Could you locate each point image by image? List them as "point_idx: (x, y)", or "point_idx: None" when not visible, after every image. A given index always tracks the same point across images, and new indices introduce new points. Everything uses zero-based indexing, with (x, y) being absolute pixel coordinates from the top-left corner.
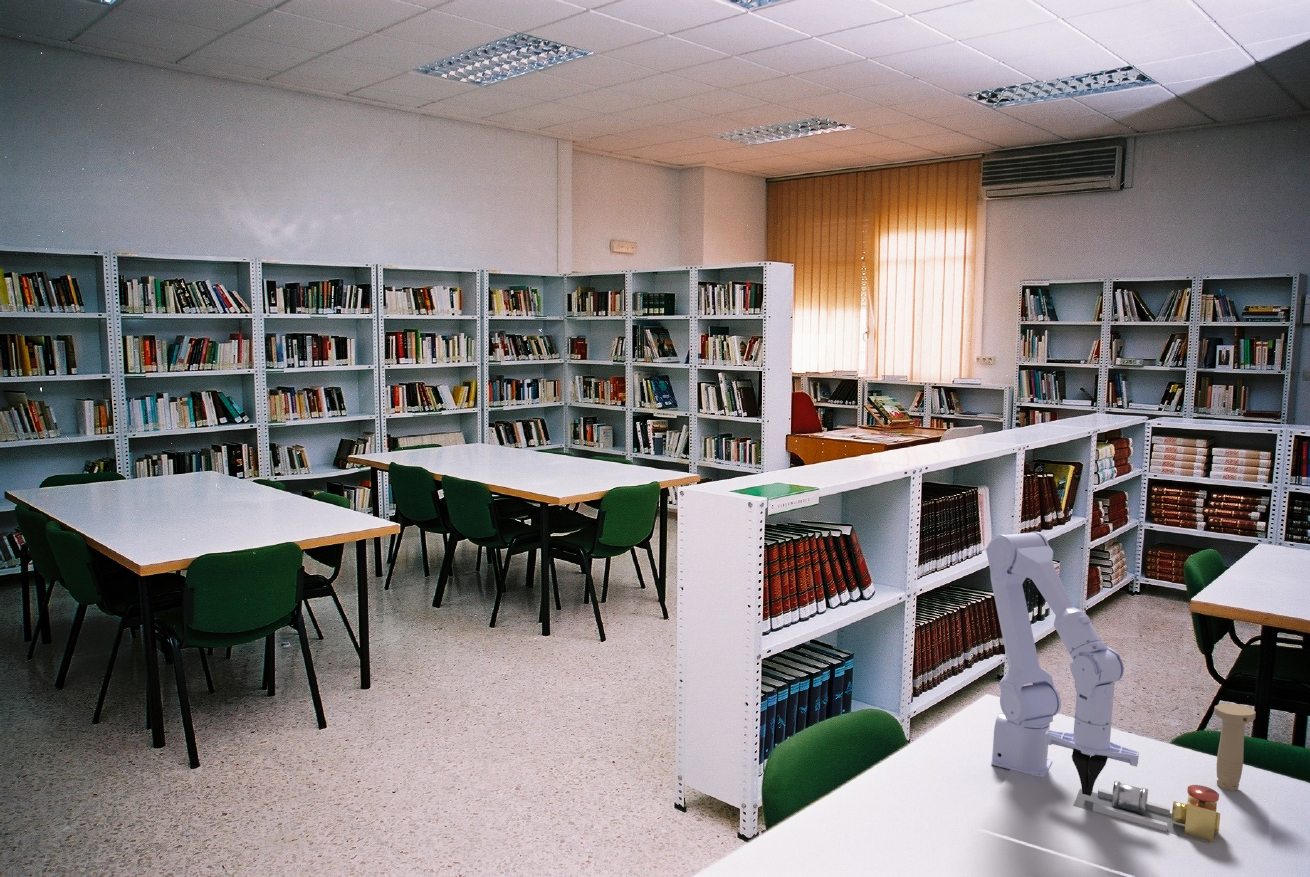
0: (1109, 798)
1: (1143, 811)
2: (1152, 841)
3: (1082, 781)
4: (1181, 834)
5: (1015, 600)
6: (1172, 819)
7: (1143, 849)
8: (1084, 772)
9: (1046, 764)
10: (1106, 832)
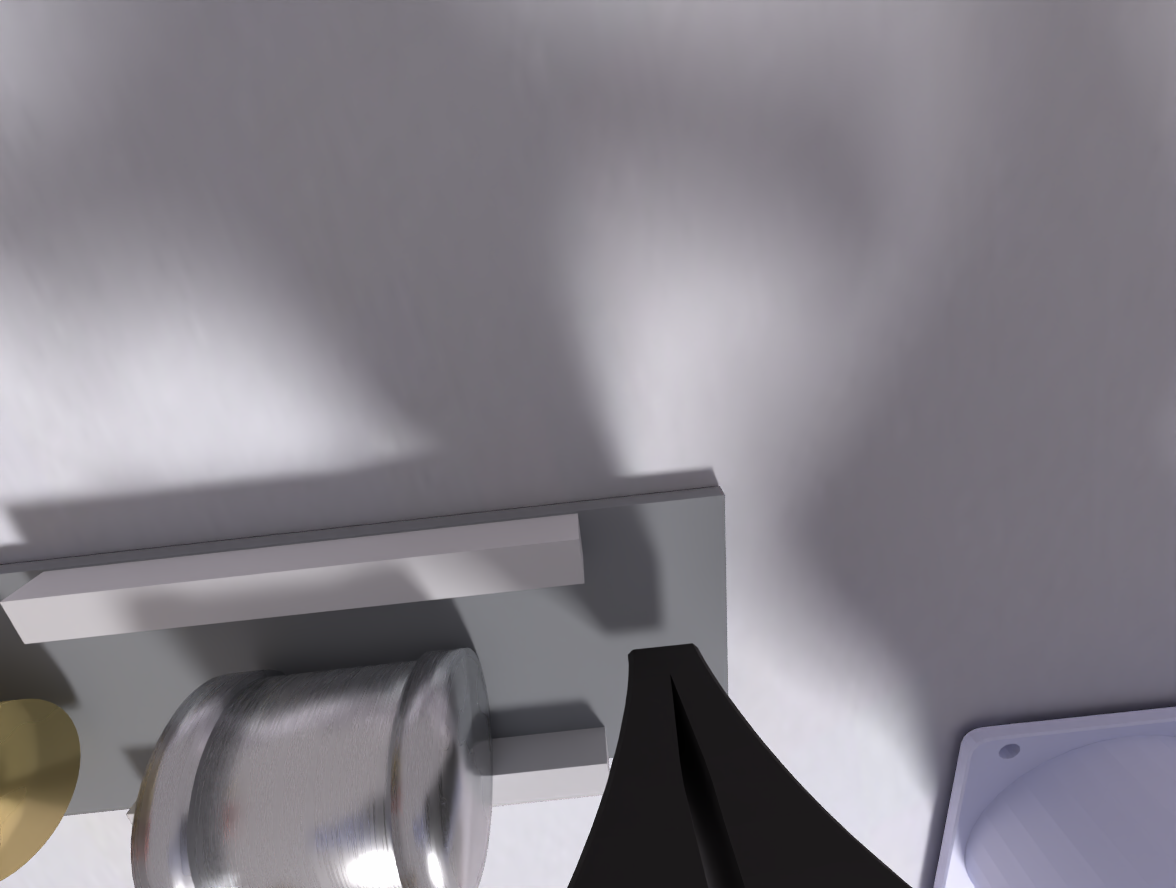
0: (526, 739)
1: (217, 678)
2: (57, 375)
3: (730, 725)
4: None
5: None
6: (6, 701)
7: (22, 167)
8: (750, 831)
9: (981, 867)
10: (386, 257)
